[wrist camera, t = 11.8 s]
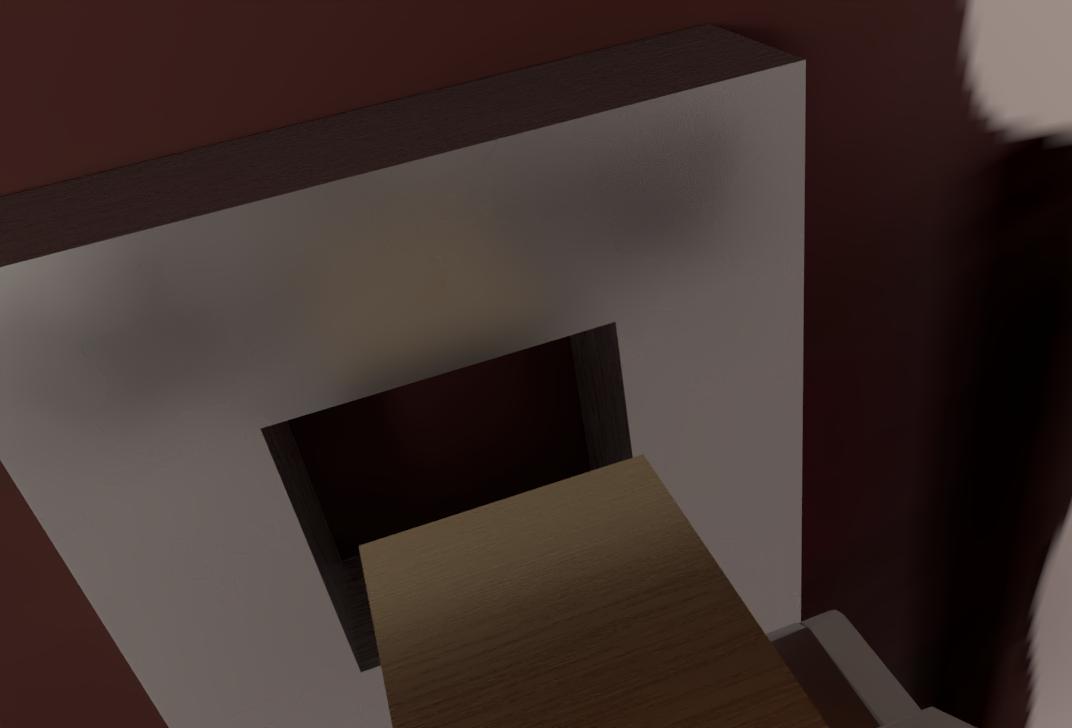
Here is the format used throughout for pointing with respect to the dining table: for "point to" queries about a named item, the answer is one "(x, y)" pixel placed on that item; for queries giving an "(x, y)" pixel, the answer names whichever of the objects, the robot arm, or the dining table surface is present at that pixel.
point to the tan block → (572, 617)
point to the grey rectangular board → (403, 343)
